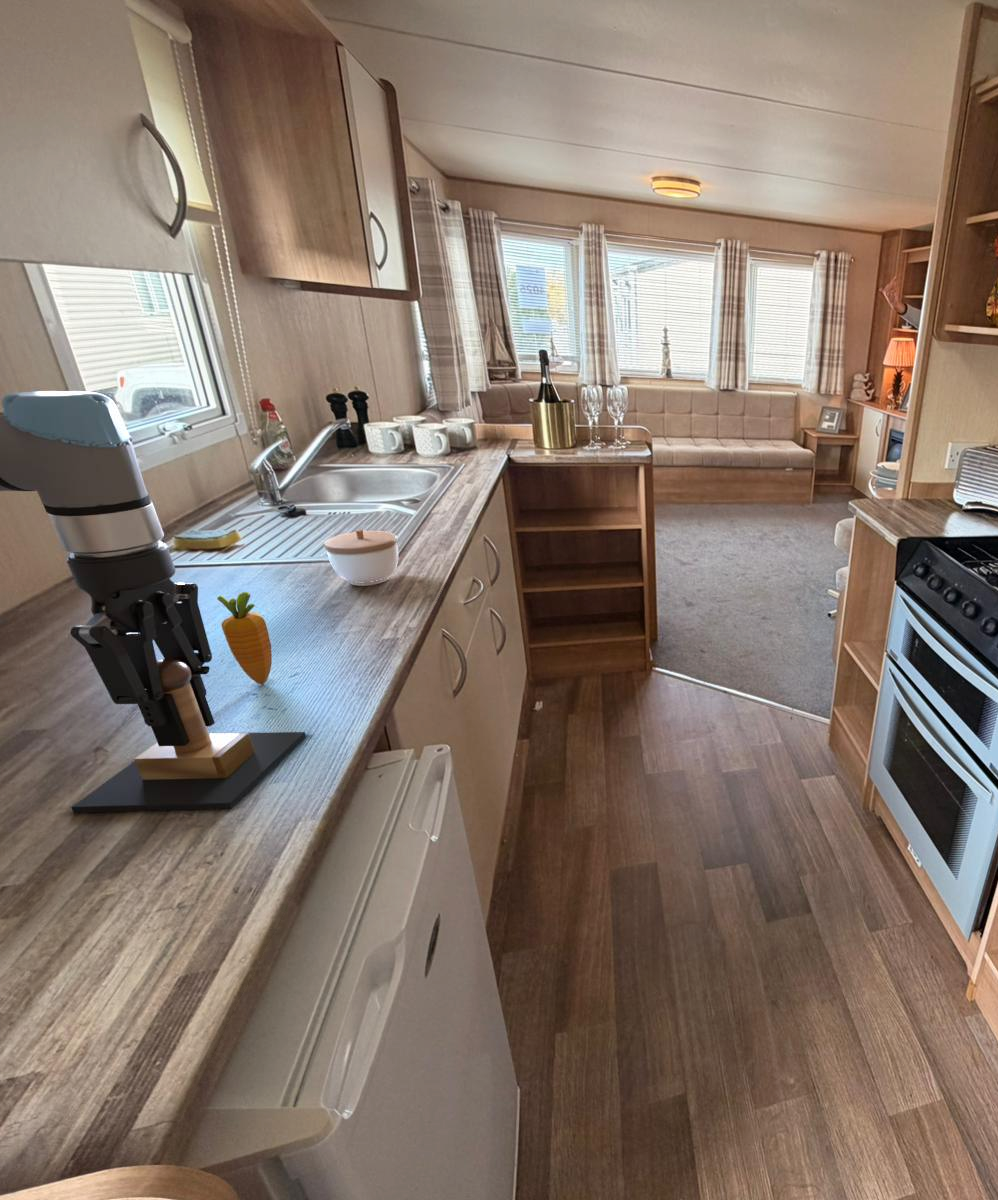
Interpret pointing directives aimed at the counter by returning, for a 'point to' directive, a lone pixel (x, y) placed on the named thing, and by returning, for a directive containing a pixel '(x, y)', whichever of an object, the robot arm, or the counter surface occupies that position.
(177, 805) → the mat
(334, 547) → the lidded bowl
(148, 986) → the counter surface
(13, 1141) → the counter surface
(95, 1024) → the counter surface
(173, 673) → the stamp
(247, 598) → the carrot
